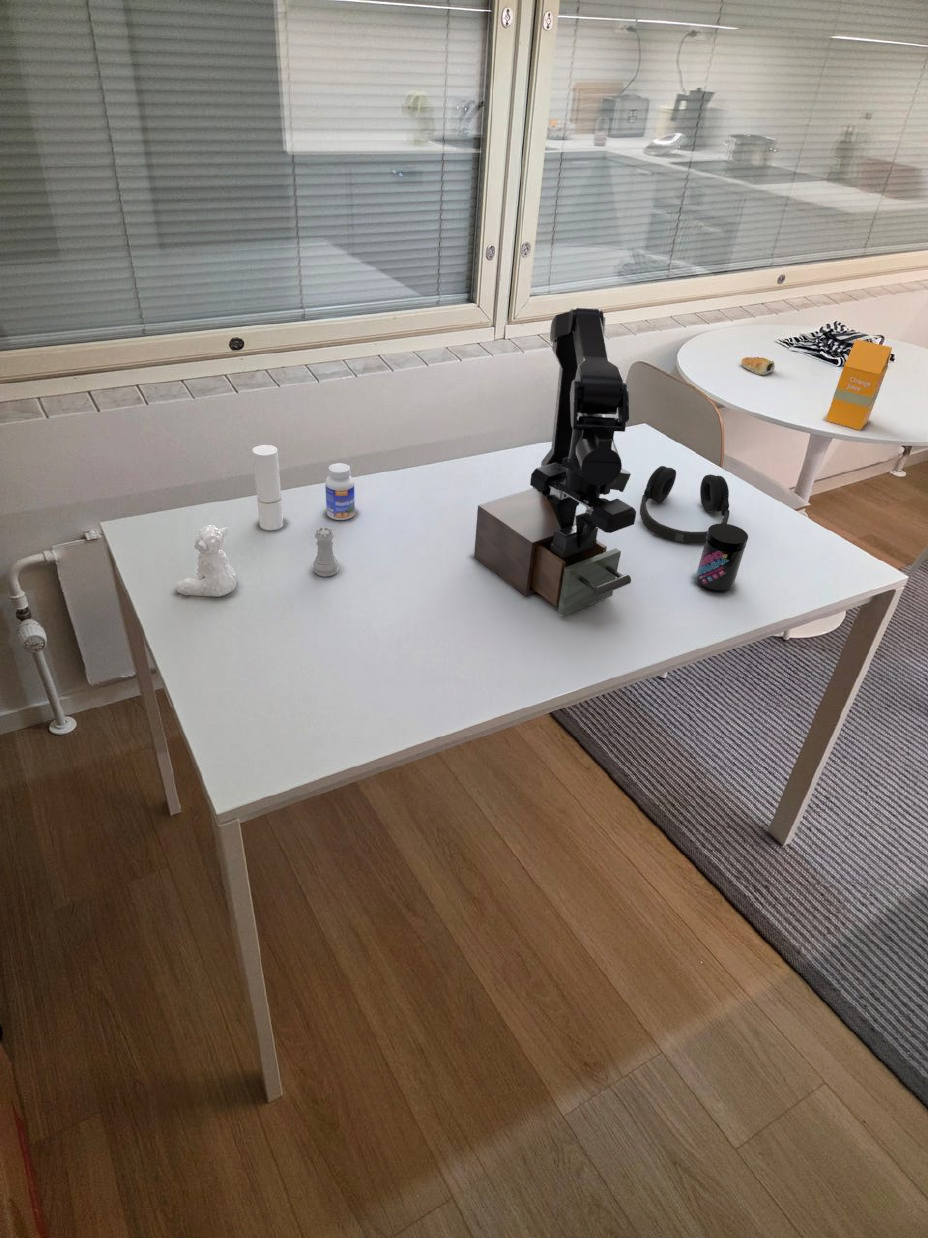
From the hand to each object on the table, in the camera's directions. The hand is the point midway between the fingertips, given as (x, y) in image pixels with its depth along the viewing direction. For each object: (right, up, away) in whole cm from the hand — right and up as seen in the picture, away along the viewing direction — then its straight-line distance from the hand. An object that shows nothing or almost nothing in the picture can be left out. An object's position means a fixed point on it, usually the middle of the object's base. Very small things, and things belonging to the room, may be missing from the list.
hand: (574, 542), depth 136 cm
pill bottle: (-42, +8, +24) cm, 49 cm away
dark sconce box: (0, -1, +1) cm, 1 cm away
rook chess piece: (-42, -4, +8) cm, 43 cm away
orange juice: (+80, +38, +78) cm, 118 cm away
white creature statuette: (-59, -7, +2) cm, 60 cm away
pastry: (+67, +60, +105) cm, 138 cm away
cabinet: (-7, -3, +13) cm, 15 cm away
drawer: (0, -8, +5) cm, 9 cm away
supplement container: (+26, -6, +12) cm, 29 cm away
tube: (-54, +5, +19) cm, 57 cm away
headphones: (+25, +7, +30) cm, 40 cm away
